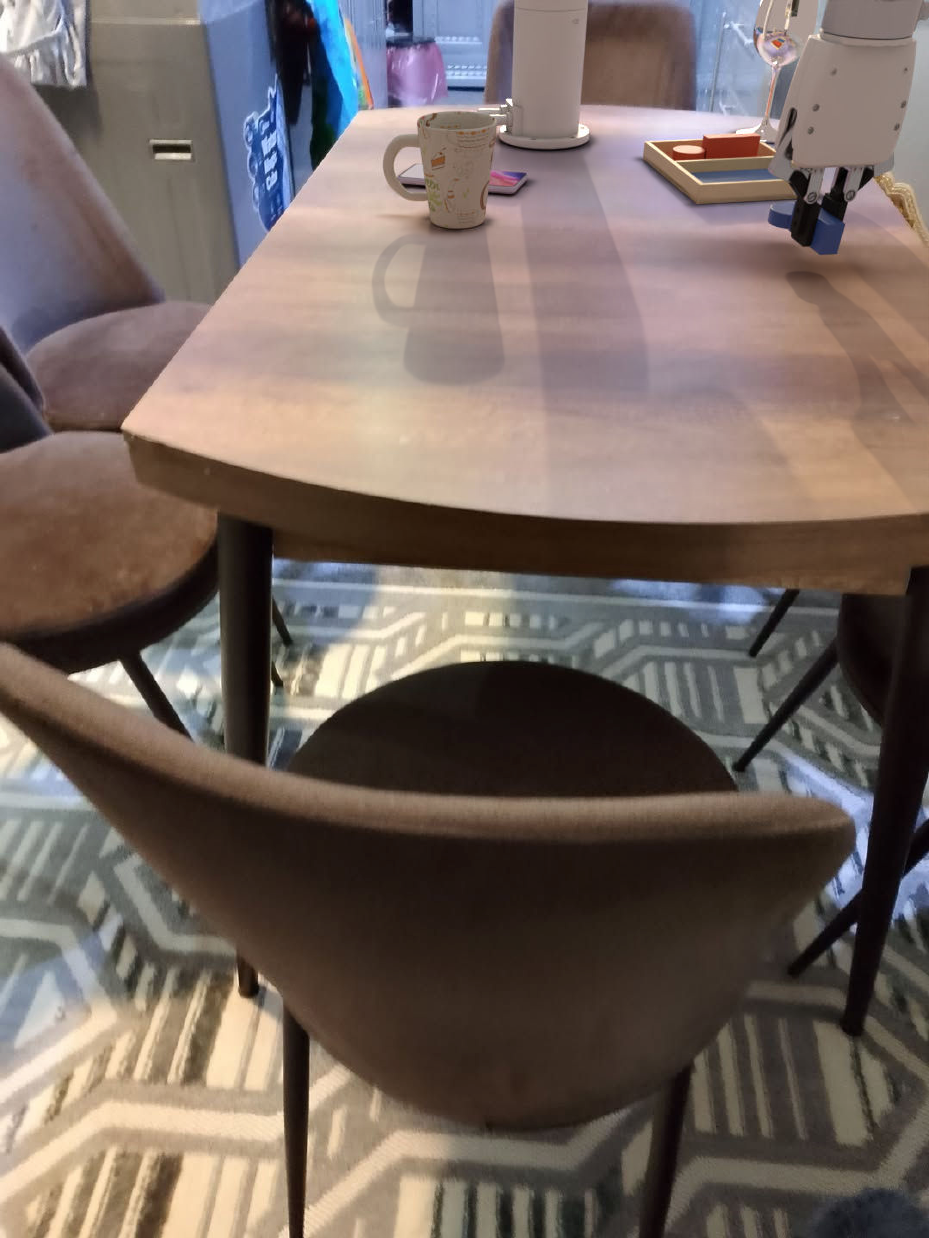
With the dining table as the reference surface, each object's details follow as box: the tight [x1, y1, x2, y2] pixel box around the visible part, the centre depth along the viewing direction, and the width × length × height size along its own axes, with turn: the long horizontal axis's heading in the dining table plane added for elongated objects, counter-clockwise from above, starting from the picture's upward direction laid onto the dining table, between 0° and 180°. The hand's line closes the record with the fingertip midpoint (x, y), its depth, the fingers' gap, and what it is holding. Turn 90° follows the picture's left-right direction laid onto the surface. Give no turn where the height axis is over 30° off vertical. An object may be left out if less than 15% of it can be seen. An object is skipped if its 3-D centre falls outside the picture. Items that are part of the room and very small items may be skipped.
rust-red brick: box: [672, 132, 761, 161], centre depth 116 cm, size 11×4×3 cm, turn 100°
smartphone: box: [396, 163, 529, 195], centre depth 111 cm, size 7×1×15 cm
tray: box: [642, 138, 824, 205], centre depth 113 cm, size 15×20×2 cm
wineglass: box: [735, 0, 819, 144], centre depth 122 cm, size 8×8×20 cm
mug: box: [382, 110, 498, 230], centre depth 98 cm, size 8×13×10 cm, turn 78°
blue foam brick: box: [767, 200, 846, 256], centre depth 90 cm, size 11×4×3 cm, turn 10°
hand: (812, 240), depth 89 cm, fingers closed on blue foam brick
